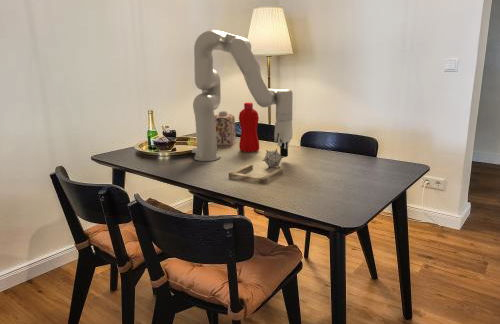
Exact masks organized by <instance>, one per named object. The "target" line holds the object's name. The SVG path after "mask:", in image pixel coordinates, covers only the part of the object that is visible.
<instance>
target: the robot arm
mask: <svg viewBox="0 0 500 324" xmlns="http://www.w3.org/2000/svg"><path fill="white" fill-rule="evenodd" d="M194 42H195V43H194V46H193V55H194V59H193V61H194V62H193V63H194V85H195V86H196V88H198V89H199V90H201V93H199V94H197V95H196V96H195V97H194V99H193V102H192V108H193V113H194V120H195V121H194V122H195V133H196V134H195V135H196V136H195V137H196V147H193V148H192V150H191V153H193V154H194V160H195V161H198V162H213V161H217V160H219V159H221V154H219V153H218V145H217V142H216V122H215V115H216V114H215V112H214V111H215V110H217V109H218V108H219V107H220V104H221V100H222V99H221V78H220V77H221V76H220V74H219V73H218V71H217V70H215V69H214V58H213V52H214V51H222V52H225V53H229V54H230V55H231V56H232V58H233V60H234V62H235V63H236V65H237V66H238V68H239V70H240V72H241V73H242V75H243V79H244V81H245V83H246V87H247V88H248V90H249V92H250V95H251V97H252V98H253V99H254V101H255V103H256V104H257V105H258V106H259V107H261V108H266V109H267V108H268V107H269V108H270V106H273V105H275V122H274V123H275V125H274V133H273V134H274V136H273V137H274V138H273V140H274V143H277V146H279V151H280V152H279V154H280V155H281V157H283V158H287V157H288V156H289V143H290V142H291V140H292V139H293V122H292V121H293V95H294V94H293V91H292V90H291V89H285V88H284V89H274V88H268V86H267V85H266V83H265V82H264V80H263V77H262V74H261V65H260V64H259V62H258V60H257V58H256V56H255V55H254V53H253V51H252V44H251V42H250V41H249V40H248V39H247V38H245V37H244V36H239V35H235V34H231V33H228V32H226V31H222V30H221V31H220V30H217V29H216V30H215V29H209V30H206V31H203V32H202V33H201V34H199V35H198V37H197V38H196V40H195V41H194Z"/></svg>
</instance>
